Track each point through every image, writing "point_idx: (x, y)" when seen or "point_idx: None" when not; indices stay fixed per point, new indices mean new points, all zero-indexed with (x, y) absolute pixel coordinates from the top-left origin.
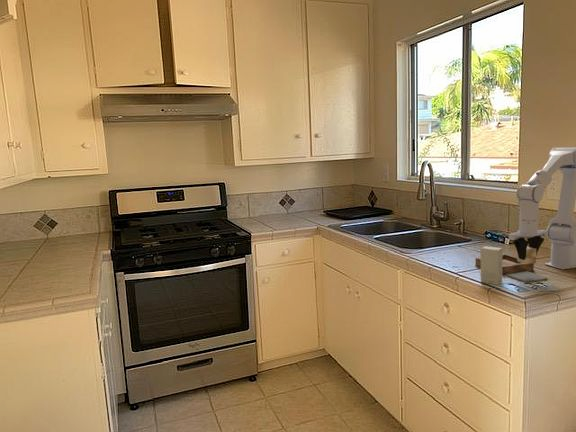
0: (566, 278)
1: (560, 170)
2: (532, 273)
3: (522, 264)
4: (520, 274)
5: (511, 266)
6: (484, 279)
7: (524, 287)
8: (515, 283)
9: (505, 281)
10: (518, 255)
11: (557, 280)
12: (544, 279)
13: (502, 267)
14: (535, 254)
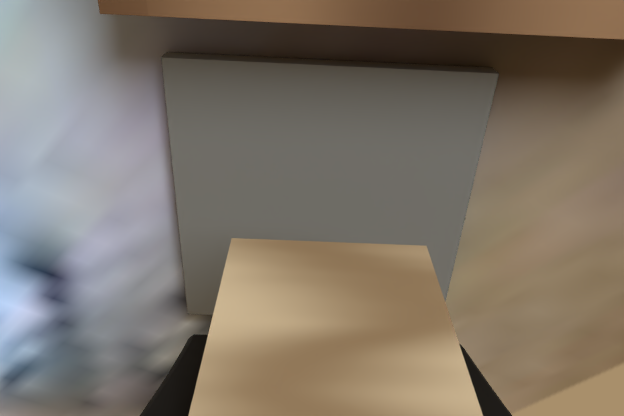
0: (603, 344)
1: None
2: (467, 168)
3: (521, 31)
4: (317, 137)
5: (296, 18)
6: None
7: (103, 359)
8: (97, 271)
9: (39, 193)
10: (171, 375)
11: (488, 349)
12: None
13: (110, 10)
14: None
